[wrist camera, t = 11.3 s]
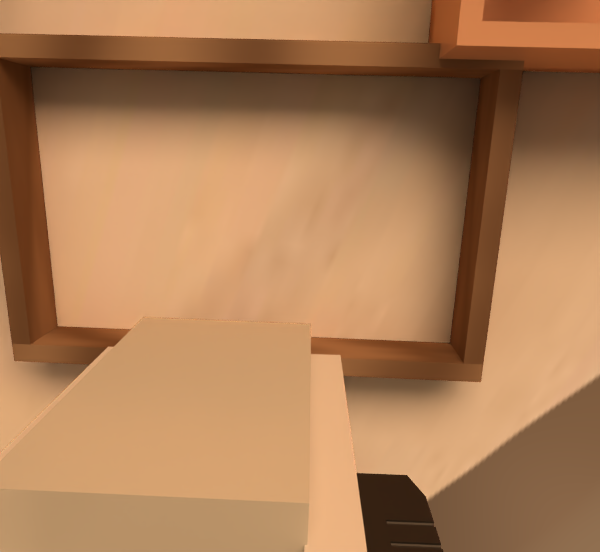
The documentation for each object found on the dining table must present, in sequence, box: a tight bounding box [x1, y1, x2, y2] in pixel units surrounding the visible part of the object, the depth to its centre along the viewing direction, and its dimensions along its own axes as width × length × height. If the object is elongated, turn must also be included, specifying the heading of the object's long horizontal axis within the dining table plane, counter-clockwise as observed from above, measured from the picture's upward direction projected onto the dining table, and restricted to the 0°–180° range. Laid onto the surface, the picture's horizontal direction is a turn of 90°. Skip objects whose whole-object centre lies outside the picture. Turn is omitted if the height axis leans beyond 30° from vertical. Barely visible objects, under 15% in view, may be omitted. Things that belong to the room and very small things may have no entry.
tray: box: [0, 33, 524, 382], centre depth 20 cm, size 20×13×2 cm, turn 88°
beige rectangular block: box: [0, 317, 311, 552], centre depth 9 cm, size 4×4×6 cm
